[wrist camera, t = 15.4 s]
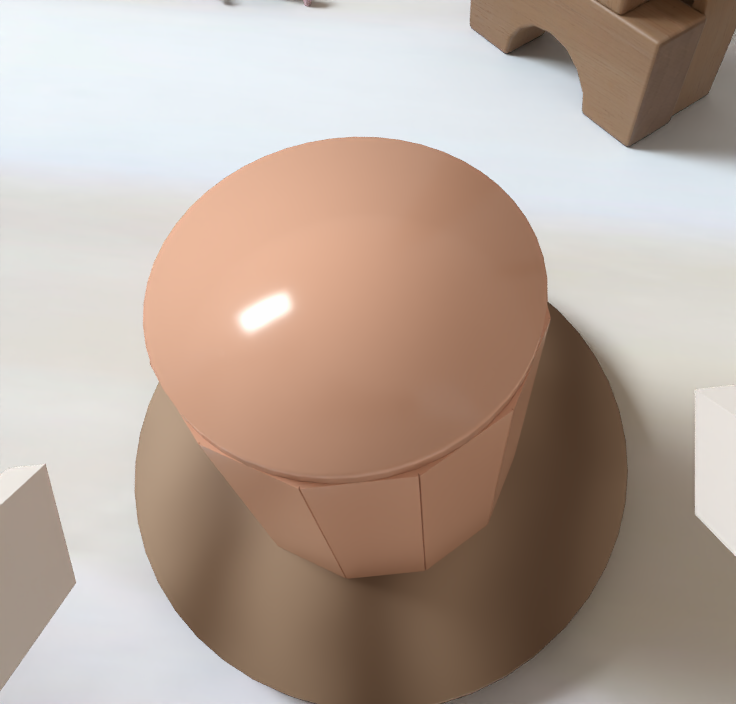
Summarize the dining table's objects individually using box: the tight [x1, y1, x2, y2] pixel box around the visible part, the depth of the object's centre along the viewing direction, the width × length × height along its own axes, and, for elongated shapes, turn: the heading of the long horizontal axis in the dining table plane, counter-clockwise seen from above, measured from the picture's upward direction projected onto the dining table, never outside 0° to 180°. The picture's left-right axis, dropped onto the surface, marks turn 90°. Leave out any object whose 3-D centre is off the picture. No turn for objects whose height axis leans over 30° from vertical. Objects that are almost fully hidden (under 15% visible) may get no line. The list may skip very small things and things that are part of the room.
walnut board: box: [135, 302, 628, 704], centre depth 29 cm, size 20×20×2 cm
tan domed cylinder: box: [143, 137, 551, 579], centre depth 24 cm, size 11×11×11 cm
